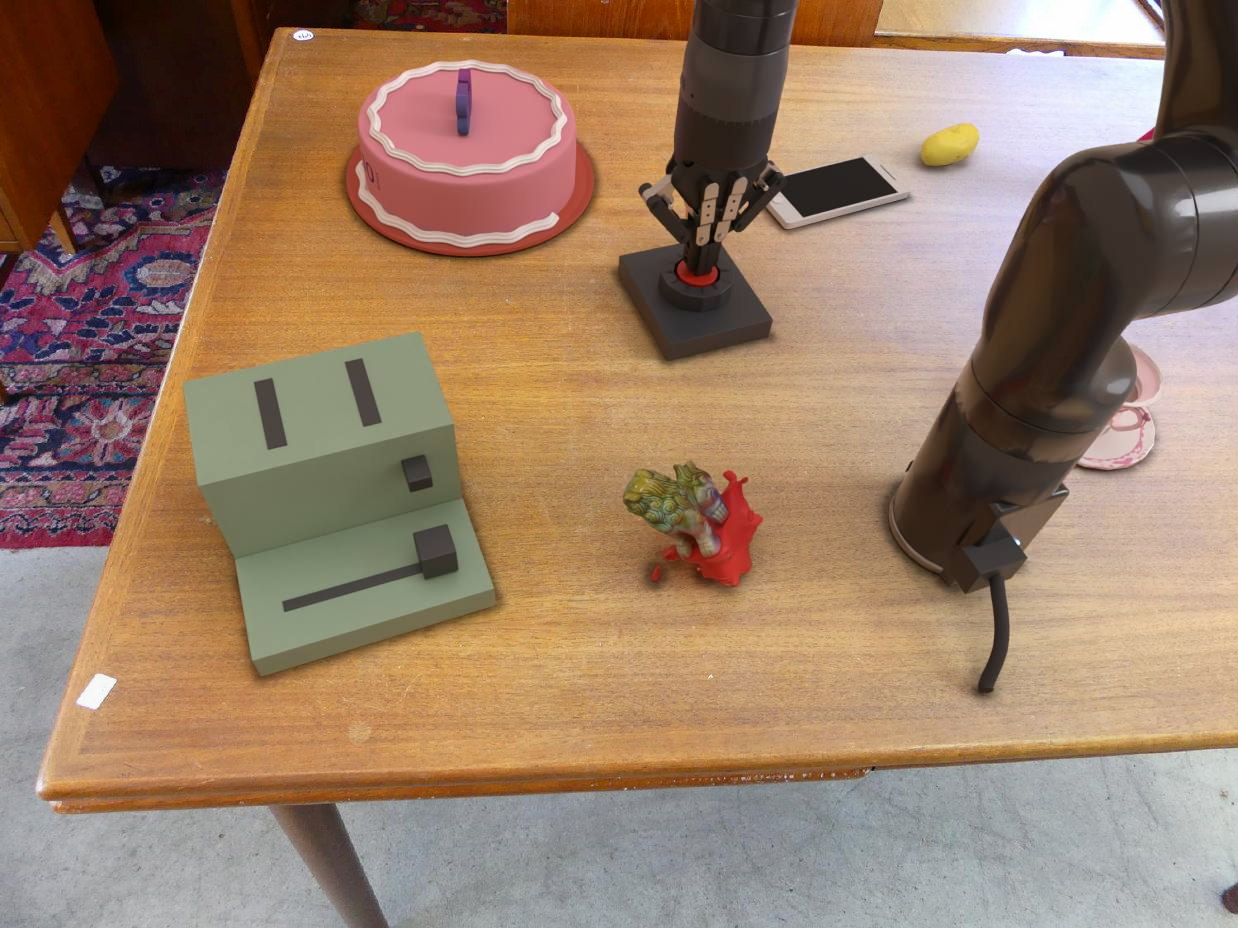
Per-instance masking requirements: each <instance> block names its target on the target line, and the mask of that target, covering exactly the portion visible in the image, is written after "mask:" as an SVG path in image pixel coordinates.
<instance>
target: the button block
mask: <svg viewBox="0 0 1238 928" xmlns="http://www.w3.org/2000/svg"><path fill="white" fill-rule="evenodd" d="M684 245H685V243H684V244H680V243H679V242H678V243H674V244H669V245H664V246H660V247H654V248H650V249H645V250H639V251H635V252H631V253H626V254H620V255H618V258H619V259H618V266H617V267H618V268H617V275H618V276H619V278H620V281H621V282H622V283H623V285H624V287H625V289H626V291H627V292H628V294H629V296H630V298H631V300H632V301H633V303H634V305H635V307H636V309H637V310H638V312H639V313H640V315H641V317H642V319H643V321H644V322H645V324H646V326H647V328H648V330H649V331H650V333H651V335H652V337H653V338H654V340H655V342H656V344H657V345H658V347H659V349H660V351H661V352H662V354H663V356H664V358H665V359H666V361H667V362H671V361H675V360H679V359H684V358H688V357H693V356H696V355H700V354H704V353H708V352H712V351H716V350H720V349H725V348H729V347H733V346H737V345H741V344H745V343H746V344H747V343H749V342H754V341H758V340H762V339H766V338H769V337H770V336H769V335H770V332H771V329H772V325H773V321H774V319H773V318H772V315H770V313H769V311H768V310H767V308H766V307H765V306H764V304H763V303H762V301H761V300H760V298H759V297H758V295H757V294H756V292H755V291H754V289H753V288H752V286H751V285H750V283H749V282H748V280H747V279H746V278H745V276H744V275H743V273H742V272H741V270H740V268H739V267H738V265H736V263H735V261H734V259H733V258H732V257H731V256H730V254H729V252H728V251H727V249H726V248H725V247H724V245H723V244H721V249H720V254H719V259H718V262H717V264H716V266H715V267H716V269H717V279H716V283H715V284H714V285H713V286H708V287H704V288H697V287H690V286H688V285H686V284H684V283H682V282H681V281H679V280H678V279H677V277H676V273H677V267H678V265H679V264H680V262H681V261H683V253H684V252H683V251H684Z"/></svg>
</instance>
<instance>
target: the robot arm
mask: <svg viewBox="0 0 1238 928" xmlns="http://www.w3.org/2000/svg"><path fill="white" fill-rule="evenodd" d="M799 3H800V0H694V3H693V4H694V5H693V12H692V20H691V27H690V30H689V35H688V38H687V43H686V45H685V50H684V55H683V61H682V70H681V73H680V77H679V90H678V91H679V92H678V100H677V107H676V116H675V122H674V123H675V124H674V131H673V152H672V155H671V157H670V158H669V160H668V162H667V163H666V166H665V175H664V176H663V177H661V178H659V180H658V181H657V182H655V183H654V184H653V185H652V184H651V183H650V182H644V183H642V184H641V185H640V186H639V187H638V190H637V192H638V194H639V196H640V198H641V199H642V201H643V202H644V204H645V205H646V208H647V209H648V210H649V212H650V213H651V215H653V216H654V217H655V219H656V220H657V222H659V223H660V224H661V225H662V226H663V227H664V228H665V230H666V231H667V232H668V233H669V234H670V235H671V236H672V237H673V238H674V240H676V242H678V244H679V243H680V244H684V243H685V245H684V251H683V252H684V253H683V261H684V263H685V264H686V266H687V267H688V269H689V271H690V272H693V274H694V275H695V276H700V275H705V274H709V273H711V272H712V267H715V266H716V264H717V262H718V259H719V254H720V249H721V244H722V243H723V241H725V239H727V237H728V234H729V233H731V232H733V231H734V232H735V233H742V232H744V231H745V230H746V229H747V228H748V226H749V225H750V224H751V223H752V222H754V220H755V219H756V218H757V217H758V215H760V214H761V212H762V211H763V210H764V209H765V208H766V206H767V205H768V204H769V202H770V201H771V200H772V199H773V198H774V197H775V196H776V195H777V194H778V193H779V192H780V191H781V189H782V188H783V187H784V186H785V185H786V183H787V179H786V178H785V176H784V175H785V174H783V172H782V170H781V169H780V168H779V167H778V165H776V163H775V162H774V161H773V160H771V159H769V156H768V153H769V151H770V149H771V144H772V138H773V135H774V131H775V126H776V122H777V118H778V113H779V109H780V105H781V100H782V96H783V95H782V94H783V91H784V86H785V82H786V77H787V73H788V65H789V58H790V57H789V56H790V45H791V40H792V33H793V29H794V25H795V21H796V15H797V11H798V7H799ZM1159 3H1160V7H1161V14H1162V19H1163V27H1164V64H1163V73H1162V83H1161V91H1160V98H1159V103H1158V104H1159V105H1158V110H1157V115H1156V121H1155V125H1154V127H1155V129H1154V134H1153V137H1152V140H1144V141H1137V140H1135V141H1129V142H1125V143H1124V142H1123V143H1115V144H1107V145H1101V146H1096V147H1095V146H1094V147H1089V148H1086V149H1082V150H1079V151H1077V152H1074V153H1073V154H1071V155H1069V156H1067V157H1066V158H1064V159H1063V160H1061V162H1059V163H1058V164H1057V165H1056V166H1055V167H1054V168H1053V169H1052V170H1051V171H1050V172H1049V173H1048V174H1047V175H1046V177H1045V178H1044V179H1043V180H1042V181H1041V183H1040V185H1039V186H1038V188H1037V189H1036V191H1035V192H1034V194H1033V195H1032V198H1031V200H1029V203H1028V205H1027V207H1026V208H1025V210H1024V212H1023V215H1022V216H1021V219H1020V221H1019V223H1018V226H1017V228H1016V230H1015V232H1014V235H1013V237H1012V239H1011V242H1010V244H1009V246H1008V249H1007V251H1006V253H1005V255H1004V258H1003V260H1002V262H1001V264H1000V267H999V269H998V272H997V273H996V276H995V278H994V280H993V282H992V284H991V287H990V289H989V292H988V294H987V297H986V301H985V304H984V307H983V308H984V309H983V314H982V320H981V322H982V323H981V331H980V337H979V339H978V341H977V342H976V344H975V347H974V349H973V350H972V352H971V353H970V356H969V358H968V360H967V362H966V363H965V365H964V367H963V369H962V371H961V373H960V375H959V376H958V378H957V380H956V382H955V383H954V386H953V387H952V389H951V391H950V393H949V394H948V397H947V399H946V400H945V402H944V404H943V406H942V407H941V409H940V412H939V413H938V415H937V417H936V418H935V421H934V423H932V426H931V427H930V429H929V431H928V434H927V435H926V437H925V439H924V440H923V443H922V445H921V446H920V448H919V450H918V452H917V453H916V455H915V458H914V459H913V460H911V461H910V462H909V464H908V465H907V467H906V469H905V472H904V473H906V475H905V477H904V478H903V480H902V482H901V484H900V485H899V486H898V488H897V489H896V491H895V493H894V495H893V496H892V498H891V500H890V502H889V506H888V524H889V527H890V530H891V533H892V535H893V537H894V539H895V541H896V542H897V544H898V545H899V547H900V548H901V549H902V550H903V551H904V552H905V554H907V555H908V556H909V557H910V558H911V559H912V560H913V561H914V562H916V563H917V564H918V565H920V566H922V567H923V568H925V569H927V570H929V571H931V572H933V573H936V574H938V575H939V576H940V578H942V579H943V581H944V583H945V584H946V585H947V586H949V587H952V586H955V585H958V586H959V588H960V589H961V591H962V592H963V594H964V595H968V594H972V593H973V592H977V591H980V590H982V589H986V588H989V592H990V600H991V605H992V613H993V614H992V615H993V641H992V647H991V651H990V654H989V657H988V659H987V662H986V664H985V666H984V668H983V670H982V673H981V674H980V677H979V679H978V683H977V691H978V692H979V693H980V694H990V693H993V692H994V687H995V684H996V683H997V680H998V677H999V675H1000V673H1001V671H1002V670H1003V669H1002V668H1003V666H1004V664H1005V661H1006V658H1007V655H1008V651H1009V644H1010V631H1011V630H1010V628H1011V627H1010V626H1011V625H1010V613H1009V605H1008V599H1007V592H1006V591H1007V590H1006V584H1005V581H1009V580H1010V579H1012V578H1014V576H1015V574H1016V573H1017V572H1018V571H1019V569H1020V568H1021V567H1022V566H1023V565H1024V563H1025V562H1026V561H1027V560H1028V556H1027V555H1026V553H1025V551H1026V549H1027V548H1028V547H1029V546H1030V545H1031V543H1032V542H1033V540H1035V538H1036V537H1037V536H1038V534H1040V532H1041V530H1043V528H1044V527H1045V526H1046V524H1047V523H1048V522H1049V520H1050V519H1051V518H1052V517H1053V515H1055V513H1056V512H1057V510H1058V509H1059V508H1060V507H1061V505H1062V504H1063V503H1064V502H1065V501H1066V499H1067V498H1068V497H1069V495H1070V490H1069V488H1068V487H1067V485H1066V484H1065V483H1064V481H1065V480H1066V478H1067V477H1068V476H1069V475H1070V473H1071V472H1072V471H1073V469H1074V468H1075V467H1076V466H1077V465H1078V464H1077V463H1078V462H1079V460H1080V459H1081V458H1082V456H1083V455H1084V454H1085V452H1086V451H1087V450H1088V449H1089V447H1090V446H1091V445H1092V444H1093V442H1094V441H1095V440H1096V438H1097V437H1098V436H1099V435H1100V433H1101V432H1102V431H1103V429H1104V428H1105V427H1106V426H1107V424H1108V423H1109V422H1110V420H1111V419H1112V418H1113V417H1114V416H1115V414H1116V413H1117V412H1118V410H1119V409H1120V408H1121V407H1122V405H1123V404H1124V403H1125V401H1126V400H1127V399H1128V397H1129V396H1130V394H1131V392H1132V390H1133V388H1134V386H1135V383H1136V378H1137V364H1136V360H1135V357H1134V354H1133V352H1132V350H1131V348H1130V346H1129V345H1128V343H1127V342H1126V341H1125V340H1126V339H1125V338H1124V337H1123V335H1122V334H1123V333H1124V332H1125V330H1126V329H1127V327H1129V325H1130V324H1131V323H1132V322H1135V321H1141V320H1146V319H1151V318H1156V317H1162V316H1166V315H1167V316H1168V315H1173V314H1179V313H1183V312H1184V313H1185V312H1191V311H1194V310H1200V309H1205V308H1209V307H1213V306H1215V305H1218V304H1222V303H1224V302H1227V301H1229V300H1231V299H1233V298H1235V297H1237V296H1238V0H1159ZM674 191H676V192H677V193H678V195H679V196H680V197H681V199H682V200H683V203H684V207H685V215H684V216H685V217H684V218H682V217H680V216H679V214H678V212H676V211H675V210H674V209H673V208H674V204H673V203H674V202H675V199H674V196H673V192H674ZM747 203H748V204H747ZM746 204H747V206H746V207H745V208H744V206H745V205H746ZM742 208H744V209H743V211H741V209H742ZM740 211H741V213H740ZM722 245H723V244H722Z"/></svg>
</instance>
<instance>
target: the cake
mask: <svg viewBox="0 0 1238 928" xmlns="http://www.w3.org/2000/svg"><path fill="white" fill-rule="evenodd" d="M576 122H577V121H576V117H575V113H574V110H573V108H572V105H570V103H569V101H568V100H567V98H566V97H565V96H564V95H563V94H562V92H560V91H559V90H558V89H557V88H556V87H555V86H554V85H552V84H551V83H550V82H548V81H546V80H545V79H542V78H541V77H539V76H537V75H536V74H533V73H531V72H528V71H525V70H522V69H521V68H520V69H519V68H517V67H512V66H511V65H509V64H503V63H493V62H485V61H481V60H477V59H467V60H466V59H465V60H457V61H436V62H432V63H431V64H426V65H422V66H418V67H415V68H412V69H409V70H405V71H403V72H401V73H399V74H396V75H395V76H393V77H391V78H389V79H387V80H385V81H384V82H382V83H381V84H379V85H378V86H377V87H375V88H374V89H373V91H371V92H370V94H369V95H368V96H367V97H366V98H365V100H364V101H363V103H362V105H361V107H360V109H359V112H358V116H357V136H358V143H359V144H358V146H357V147H356V148H355V150H354V151H353V152H352V155H351V156H350V159H349V161H348V163H347V168H346V175H345V186H346V192H347V195H348V199H349V201H350V203H351V205H352V207H353V208H354V210H355V212H357V213H356V214H358V215H359V217H361V218H362V220H364V222H365V223H366V224H368V225H369V226H370V227H371V228H372V229H374V230H375V231H377V232H379V234H381V235H383V236H385V237H386V238H388V239H391V240H393V241H395V242H396V243H398V244H402V245H404V246H407V247H410V248H412V249H416V250H419V251H424V252H429V253H432V254H433V253H434V254H438V255H445V256H456V257H482V256H483V257H485V256H494V255H501V254H507V253H513V252H517V251H521V250H524V249H528V248H530V247H534V246H536V245H538V244H541V243H544V242H546V241H548V240H550V239H552V238H554V237H556V236H557V235H559V234H561V233H562V232H563V231H565V230H566V229H568V228H570V226H571V225H572V224H574V223H575V222H576V221H577V220H578V219H579V218H580V217H581V215H582V214H583V213H584V211H585V210H586V209H587V207H588V205H589V204H590V201H591V199H592V196H593V193H594V187H595V176H594V169H593V165H592V163H591V160H590V158H589V156H588V153H587V151H585V149H584V147H583V146H582V145H581V144H580V143H579V142H578V141H577V123H576Z"/></svg>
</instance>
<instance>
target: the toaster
mask: <svg viewBox="0 0 1238 928" xmlns="http://www.w3.org/2000/svg"><path fill="white" fill-rule="evenodd" d="M181 385H182V392H183V398H184V404H185V411H186V418H187V425H188V433H189V438H190V444H191V452H192V458H193V464H194V465H193V466H194V471H195V478H196V485H197V488H198V490H199V492H200V494H201V496H202V498H203V500H204V501H205V503H206V506H207V507H208V509H209V511H210V513H211V515H212V517H213V519H214V521H215V524H216V525H217V527H218V530H219V531H220V533H221V535H222V538H223V539H224V541H225V544H226V546H227V547H228V549H229V551H230V553H231V555H232V556H233V558H234V564H235V570H236V576H237V582H238V589H239V593H240V594H239V595H240V599H241V606H242V610H243V611H242V612H243V617H244V623H245V629H246V635H247V642H248V647H249V653H250V659H251V660H250V661H251V662H252V664H253V666H254V667H255V669H256V670H257V672H258V674H259V676H260V677H262V678H263V677H265V676H269V675H272V674H276V673H278V672H279V673H280V672H282V671H285V670H289V669H292V668H295V667H298V666H302V665H305V664H308V663H311V662H312V663H313V662H315V661H318V660H321V659H325V658H327V657H331V656H336V655H337V654H341V653H344V652H347V651H350V650H354V649H357V648H361V647H364V646H368V645H370V644H374V643H377V642H380V641H383V640H387V639H390V638H393V637H397V636H399V635H403V634H406V633H410V632H413V631H417V630H419V629H423V628H426V627H430V626H433V625H436V624H439V623H443V622H446V621H449V620H452V619H455V618H459V617H462V616H465V615H469V614H472V613H475V612H479V611H481V610H486V609H489V608H492V607H494V606H496V595H495V586H494V584H493V582H492V578H491V575H490V572H489V569H488V567H487V566H488V565H487V564H486V561H485V557H484V554H483V552H482V549H481V547H480V544H479V541H478V538H477V535H476V532H475V529H474V526H473V523H472V521H471V518H470V515H469V512H468V509H467V507H466V503H465V501H464V498H463V491H462V490H463V489H462V482H461V473H460V466H459V465H460V464H459V457H458V447H457V439H456V430H455V423H454V420H453V417H452V414H451V412H450V409H449V405H448V403H447V400H446V398H445V395H444V392H443V389H442V387H441V384H440V381H439V378H438V375H437V373H436V370H435V368H434V365H433V362H432V359H431V357H430V353H429V351H428V349H427V346H426V343H425V340H424V337H423V335H422V332H421V331H420V330H418V331H413V332H408V333H403V334H398V335H393V336H389V337H384V338H380V339H375V340H371V341H365V342H361V343H357V344H352V345H348V346H347V345H346V346H343V347H339V348H338V347H337V348H334V349H333V348H332V349H329V350H323V351H320V352H315V353H310V354H306V355H301V356H296V357H292V358H287V359H283V360H278V361H272V362H268V363H263V364H260V365H255V366H250V367H244V368H240V369H236V370H235V369H234V370H231V371H227V372H222V373H217V374H211V375H208V376H203V377H199V378H194V379H189V380H185V381H182V382H181ZM444 524H447V525H448V527H449V530H450V533H451V536H452V539H453V542H454V545H455V548H456V552H457V559H458V567H459V570H458V571H454V572H451V573H447V574H444V575H441V576H437V577H434V578H430V579H427V580H425V579H424V576H423V573H422V569H421V566H420V563H419V559H418V556H417V553H416V548H415V543H414V538H413V533H415V532H419V531H422V530H426V529H429V528H433V527H437V526H440V525H444Z"/></svg>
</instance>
